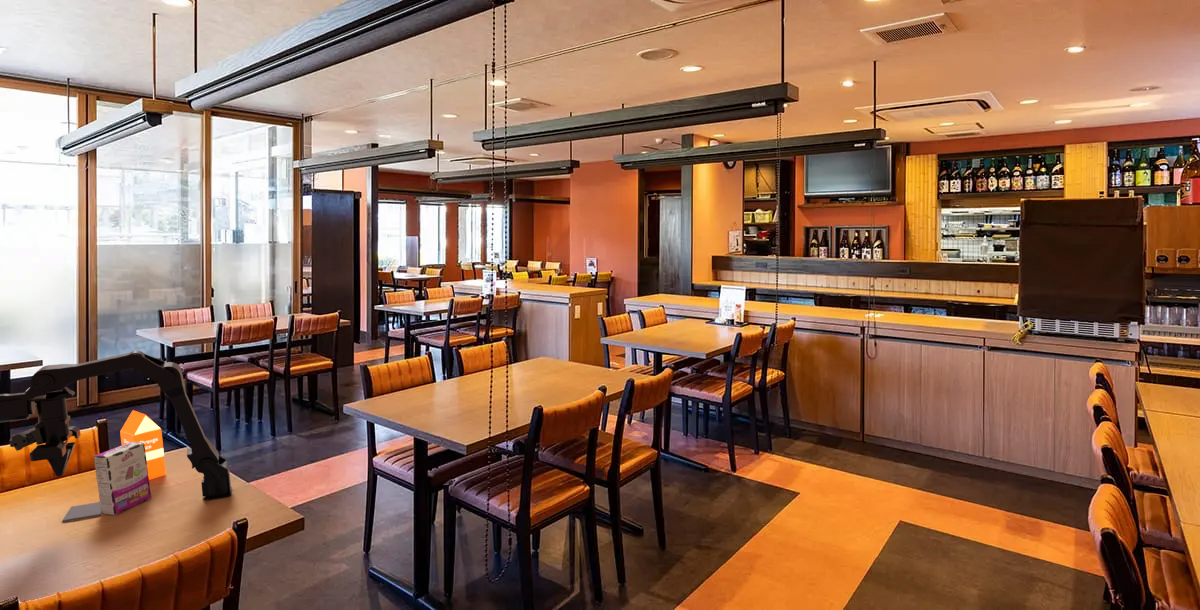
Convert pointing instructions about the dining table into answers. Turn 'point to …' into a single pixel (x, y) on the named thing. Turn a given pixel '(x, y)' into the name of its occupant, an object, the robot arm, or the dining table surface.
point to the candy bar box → (122, 478)
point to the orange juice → (146, 441)
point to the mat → (83, 512)
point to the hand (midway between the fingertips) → (60, 475)
